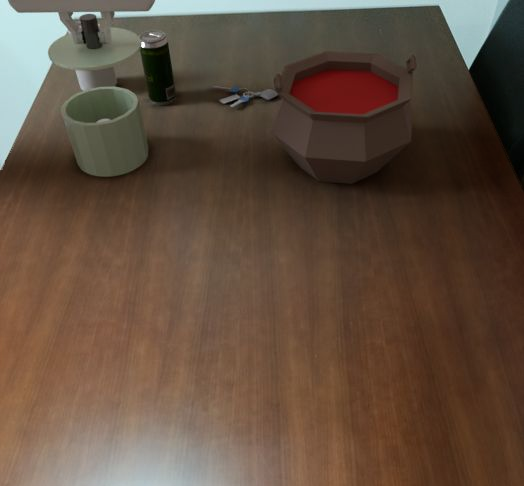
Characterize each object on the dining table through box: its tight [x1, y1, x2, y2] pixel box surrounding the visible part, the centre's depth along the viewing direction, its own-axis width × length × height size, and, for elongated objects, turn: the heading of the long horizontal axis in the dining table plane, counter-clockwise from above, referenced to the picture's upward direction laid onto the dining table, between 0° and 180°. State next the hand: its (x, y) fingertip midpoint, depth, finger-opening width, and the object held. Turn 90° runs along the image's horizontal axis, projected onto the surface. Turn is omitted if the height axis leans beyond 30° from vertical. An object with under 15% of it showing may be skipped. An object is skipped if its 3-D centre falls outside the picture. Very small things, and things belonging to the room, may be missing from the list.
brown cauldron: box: [270, 50, 418, 185], centre depth 94 cm, size 24×24×16 cm
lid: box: [47, 13, 141, 71], centre depth 85 cm, size 14×14×5 cm
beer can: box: [138, 29, 177, 106], centre depth 111 cm, size 5×5×12 cm
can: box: [66, 21, 118, 91], centre depth 115 cm, size 8×8×12 cm
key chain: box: [211, 85, 279, 108], centre depth 114 cm, size 14×8×1 cm, turn 80°
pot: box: [60, 86, 150, 178], centre depth 100 cm, size 13×13×10 cm
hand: (93, 42), depth 86 cm, fingers closed on lid, 2 cm apart
